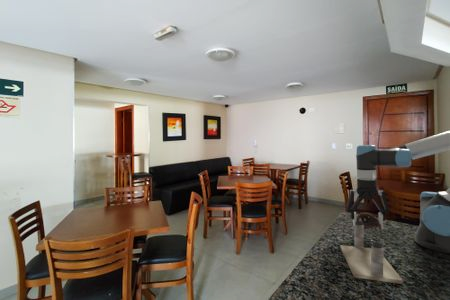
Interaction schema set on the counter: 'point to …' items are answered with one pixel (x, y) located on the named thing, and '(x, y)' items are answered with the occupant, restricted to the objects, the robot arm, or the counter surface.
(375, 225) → the pottery mug
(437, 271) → the counter surface
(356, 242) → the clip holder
